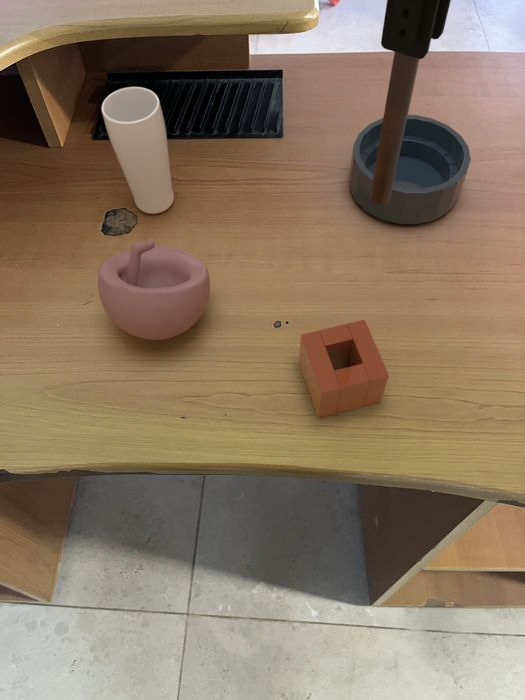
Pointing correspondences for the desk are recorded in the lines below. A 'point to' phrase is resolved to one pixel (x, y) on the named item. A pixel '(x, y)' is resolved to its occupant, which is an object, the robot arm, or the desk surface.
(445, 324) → the desk surface
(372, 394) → the holder
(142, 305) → the mortar and pestle
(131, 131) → the drinking glass
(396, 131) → the stirring stick
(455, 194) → the bowl
